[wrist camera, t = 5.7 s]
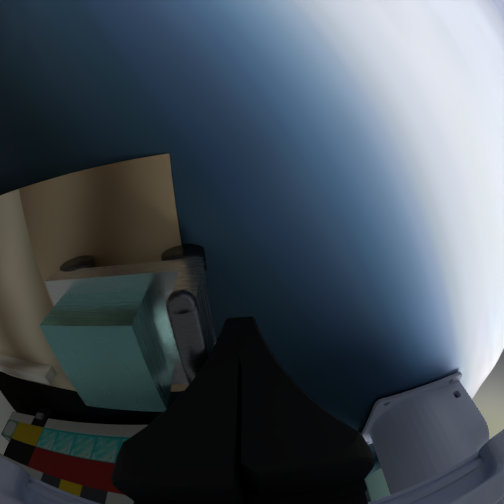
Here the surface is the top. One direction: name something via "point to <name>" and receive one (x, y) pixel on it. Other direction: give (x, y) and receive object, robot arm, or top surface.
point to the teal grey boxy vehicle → (131, 327)
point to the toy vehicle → (69, 453)
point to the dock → (75, 247)
